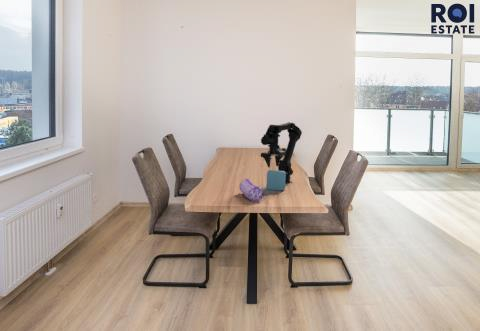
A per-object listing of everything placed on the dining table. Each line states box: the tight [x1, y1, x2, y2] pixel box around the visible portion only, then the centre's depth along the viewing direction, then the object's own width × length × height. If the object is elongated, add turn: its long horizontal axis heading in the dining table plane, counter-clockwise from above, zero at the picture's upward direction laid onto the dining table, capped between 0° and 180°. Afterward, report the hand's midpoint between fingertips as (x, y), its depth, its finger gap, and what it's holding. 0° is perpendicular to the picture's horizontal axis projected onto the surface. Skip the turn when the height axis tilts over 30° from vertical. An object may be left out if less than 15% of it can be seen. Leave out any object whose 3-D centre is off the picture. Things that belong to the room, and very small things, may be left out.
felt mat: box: [259, 187, 282, 196], centre depth 281 cm, size 12×16×1 cm
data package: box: [265, 169, 286, 191], centre depth 286 cm, size 12×4×12 cm, turn 85°
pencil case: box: [238, 177, 265, 202], centre depth 265 cm, size 22×9×10 cm, turn 18°
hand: (273, 166), depth 295 cm, fingers open, 7 cm apart
